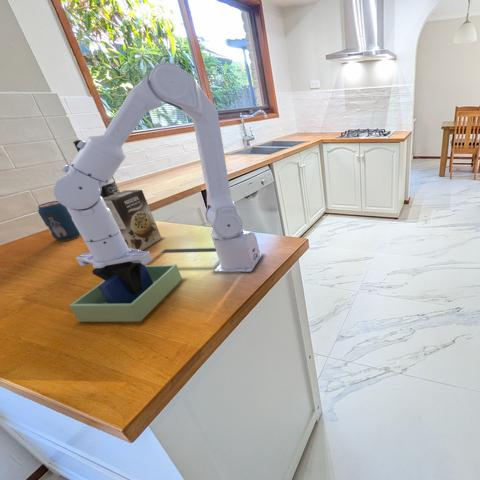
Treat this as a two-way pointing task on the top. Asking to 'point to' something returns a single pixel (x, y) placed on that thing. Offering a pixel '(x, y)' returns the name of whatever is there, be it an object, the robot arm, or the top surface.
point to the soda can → (58, 221)
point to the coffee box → (133, 218)
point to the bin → (99, 310)
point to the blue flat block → (123, 288)
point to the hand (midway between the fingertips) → (131, 291)
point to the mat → (189, 250)
